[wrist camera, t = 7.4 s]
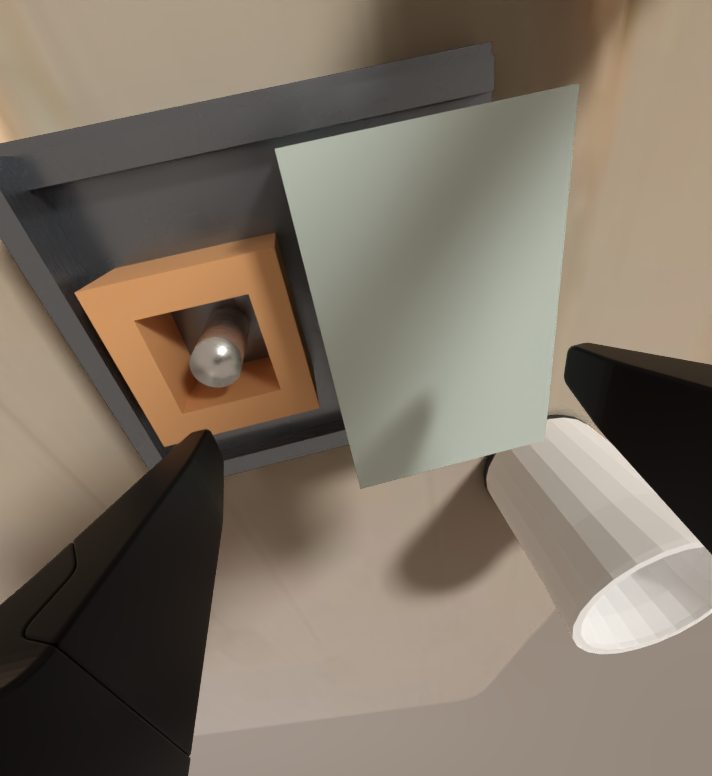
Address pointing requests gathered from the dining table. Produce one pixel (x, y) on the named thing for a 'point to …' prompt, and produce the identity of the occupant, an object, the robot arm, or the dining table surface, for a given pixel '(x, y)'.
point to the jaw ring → (169, 353)
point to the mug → (601, 539)
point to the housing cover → (438, 276)
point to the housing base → (205, 221)
